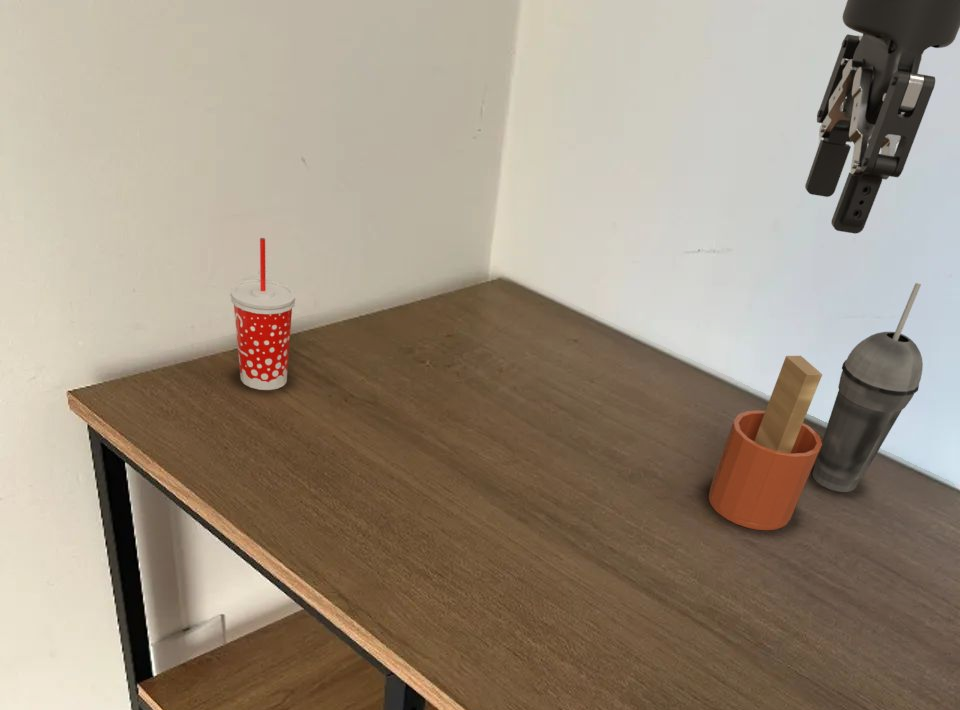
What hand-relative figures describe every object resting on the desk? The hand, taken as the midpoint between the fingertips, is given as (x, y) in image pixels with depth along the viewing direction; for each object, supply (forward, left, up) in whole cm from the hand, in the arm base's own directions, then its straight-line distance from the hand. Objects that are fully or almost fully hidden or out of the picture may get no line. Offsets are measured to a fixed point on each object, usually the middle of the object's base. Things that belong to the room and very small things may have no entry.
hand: (830, 211), depth 73 cm
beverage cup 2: (-16, -4, -28) cm, 32 cm away
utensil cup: (-4, -1, -28) cm, 28 cm away
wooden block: (-4, -1, -27) cm, 27 cm away
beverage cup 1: (+38, -28, -28) cm, 55 cm away
